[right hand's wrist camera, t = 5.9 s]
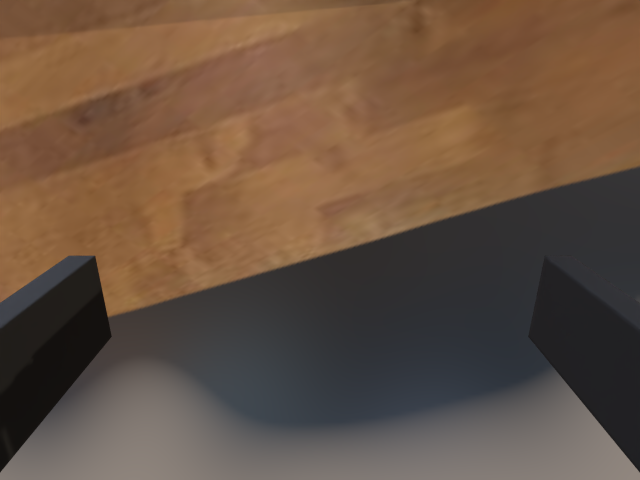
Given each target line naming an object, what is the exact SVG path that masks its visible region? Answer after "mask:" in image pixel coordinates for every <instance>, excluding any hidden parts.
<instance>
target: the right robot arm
mask: <svg viewBox="0 0 640 480" xmlns="http://www.w3.org/2000/svg"><path fill="white" fill-rule="evenodd" d="M110 338H111V331H110V327H109V322H108V317H107V312H106V307H105V302H104V297H103V292H102V287H101V282H100V278H99V273H98V268H97V263H96V258H95V256H68V257H66V258H65V259H63V260H62V261H61V262H59V263H58V264H56V265H55V266H53V267H52V268H50V269H49V270H47V271H46V272H45V273H43V274H42V275H40V276H39V277H37V278H36V279H34V280H33V281H32V282H30V283H29V284H27V285H26V286H24V287H23V288H21V289H20V290H18V291H17V292H16V293H14V294H13V295H11V296H10V297H8V298H7V299H5V300H4V301H2V302H1V303H0V472H1V471H2V469H3V468H4V467H5V466H6V465H7V463H8V462H9V461H10V460H11V459H12V457H13V456H14V455H15V454H16V452H17V451H18V450H19V449H20V448H21V446H22V445H23V444H24V443H25V441H26V440H27V439H28V438H29V437H30V435H31V434H32V433H33V432H34V430H35V429H36V428H37V427H38V426H39V424H40V423H41V422H42V421H43V420H44V418H45V417H46V416H47V415H48V413H49V412H50V411H51V410H52V409H53V407H54V406H55V405H56V404H57V402H58V401H59V400H60V399H61V398H62V396H63V395H64V394H65V393H66V391H67V390H68V389H69V388H70V387H71V385H72V384H73V383H74V382H75V381H76V379H77V378H78V377H79V376H80V374H81V373H82V372H83V371H84V370H85V368H86V367H87V366H88V365H89V363H90V362H91V361H92V360H93V359H94V357H95V356H96V355H97V354H98V353H99V351H100V350H101V349H102V348H103V346H104V345H105V344H106V343H107V342H108V340H109V339H110ZM529 338H530V339H531V340H532V342H533V343H534V344H535V345H536V346H537V348H538V349H539V350H540V351H541V353H542V354H543V355H544V356H545V357H546V359H547V360H548V361H549V362H550V364H551V365H552V366H553V367H554V368H555V370H556V371H557V372H558V373H559V374H560V376H561V377H562V378H563V379H564V381H565V382H566V383H567V384H568V385H569V387H570V388H571V389H572V390H573V392H574V393H575V394H576V395H577V396H578V398H579V399H580V400H581V401H582V402H583V404H584V405H585V406H586V407H587V409H588V410H589V411H590V412H591V413H592V415H593V416H594V417H595V418H596V420H597V421H598V422H599V423H600V424H601V426H602V427H603V428H604V429H605V430H606V432H607V433H608V434H609V435H610V437H611V438H612V439H613V440H614V441H615V443H616V444H617V445H618V446H619V448H620V449H621V450H622V451H623V452H624V454H625V455H626V456H627V457H628V458H629V460H630V461H631V462H632V463H633V465H634V466H635V467H636V468H637V469H638V471H639V472H640V303H639V302H638V301H636V300H635V299H633V298H632V297H630V296H629V295H627V294H626V293H624V292H623V291H621V290H620V289H619V288H617V287H616V286H614V285H613V284H611V283H610V282H608V281H607V280H606V279H604V278H603V277H601V276H600V275H598V274H597V273H595V272H594V271H592V270H591V269H590V268H588V267H587V266H585V265H584V264H582V263H581V262H579V261H578V260H576V259H575V258H574V257H572V256H545V258H544V263H543V268H542V273H541V278H540V283H539V287H538V292H537V297H536V302H535V307H534V312H533V317H532V322H531V327H530V331H529Z"/></svg>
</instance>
